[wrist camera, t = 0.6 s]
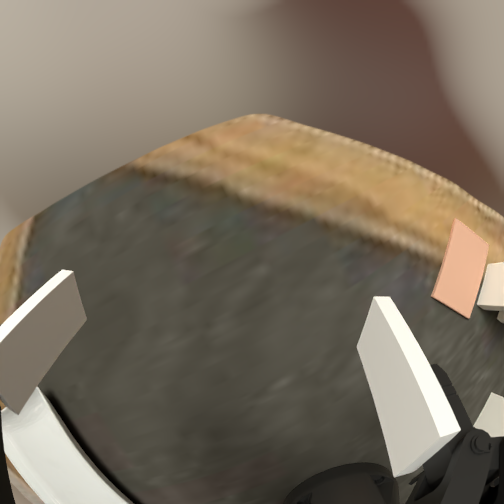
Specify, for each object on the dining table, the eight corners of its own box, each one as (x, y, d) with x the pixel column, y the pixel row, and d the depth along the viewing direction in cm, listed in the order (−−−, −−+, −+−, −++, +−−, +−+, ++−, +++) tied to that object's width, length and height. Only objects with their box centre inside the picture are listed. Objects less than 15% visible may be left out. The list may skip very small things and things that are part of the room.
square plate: (-4, 416, 26) (-16, 421, 22) (51, 376, 26) (33, 383, 22) (79, 522, 22) (70, 531, 18) (169, 518, 23) (162, 534, 19)
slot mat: (486, 245, 25) (489, 245, 25) (466, 318, 24) (469, 318, 24) (453, 219, 26) (456, 218, 25) (430, 296, 25) (433, 296, 25)
